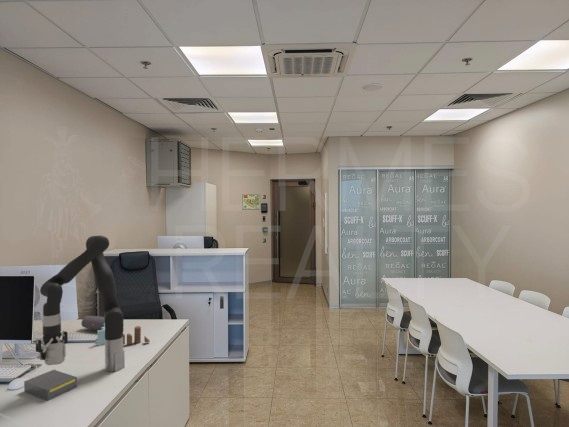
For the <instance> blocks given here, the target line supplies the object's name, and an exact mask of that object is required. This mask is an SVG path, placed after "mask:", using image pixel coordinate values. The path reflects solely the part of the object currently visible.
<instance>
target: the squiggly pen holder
mask: <svg viewBox="0 0 569 427" xmlns="http://www.w3.org/2000/svg"><path fill="white" fill-rule="evenodd" d="M96 332H97V333H96V334H97V346H99V347H101V346H105V323H104V327H102V330H98V331H96Z"/></svg>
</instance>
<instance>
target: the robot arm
mask: <svg viewBox="0 0 569 427" xmlns="http://www.w3.org/2000/svg"><path fill="white" fill-rule="evenodd" d="M109 246H110V240H109V238H108V237H107V236H105V235H91V236H89V237H88V238H87V239H86V242H85V248H86V250H84V251H83V252H82V253H80V255H78V256H77V257H75V258H74V259H72V260H71V261H70V262H68V263H67V264H66V265H65V266H63V268H62V269H61V270H60V271H59V272H58V273H57V274H55V275H53V276H52V277H50V278H49V279H48V280H46V281H45V282H44V283H43V284H42V285H41V287H40V290H39V291H40V294H41V296H43V297H46V302H45V303H44V304H43V306H42V338H40V339H38V338H37V339H36V340H35V352H37V353H38V354H39V353H40V354H39V359H40V358H41V359H42V360H41V361H45V359H46V352H45V351H46V349H47V348H48V347H49V345H50V344H55V343H61V342H62V341H61V340H64V344H65V345H66V344H68V341H69V340H68V339H69V338H68V336H69V335H68V331H66V330H63V331H62V316H61V302H62V299H63V298H62V297H63V292H64V291H63V290H64V289H63V286H64V285H65V284H68V283H70V282H72V280H73V279H74V278H75V277H76V276H78V274H79V273H80V272H82V271H83V269H84V268H85V267H86V266H87V265H88V264H90V263H91V267H92V270H93V276H94V279H95V280H94V281H95V284H96V288H97V291H98V294H99V297H100V299H101V301H102V306H103V317H104V319H105V345H104V356H105V357H104V362H105V364H104V368H105V371H106V372H117V371H120V370H121V369H124V368H125V366H126V365H125V350H124V345H123V334H124V314H123V312H122V310H121V308H120V305H119V304H120V303H119V301H118V299H117V287H116V286H117V285H116V281H115V277H114V272H113V271H112V269H111V267H110V265H109V264H108V262H107V261H106V259H105V258H106V257H105V255H104V252H105V251H107V249H108V248H109ZM44 344H47V345H44Z"/></svg>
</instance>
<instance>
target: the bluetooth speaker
mask: <svg viewBox="0 0 569 427" xmlns="http://www.w3.org/2000/svg"><path fill="white" fill-rule="evenodd" d="M104 323H105V319H104V316H99V315H85V316H83V318H82V320H81V326H82V328H86V329H89V330H91V331H95V332H97V331H98V330H102V327H104Z"/></svg>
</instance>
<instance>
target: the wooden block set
mask: <svg viewBox="0 0 569 427" xmlns="http://www.w3.org/2000/svg"><path fill="white" fill-rule="evenodd" d="M141 332H142V327H141V326H140V325H137V326H135V327H134V336H133V335H132V334H131V333H127V334H125V333H123V346H124V345H125V344H126V345H132V344H133V341H134V344H139V343H141V342H142V341H141V340H142V337H141V335H142V334H141ZM133 337H134V339H133ZM125 338H126V339H125ZM125 342H126V343H125ZM144 343H150V339H149V338H148V337H147V336H146V335H144Z"/></svg>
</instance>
